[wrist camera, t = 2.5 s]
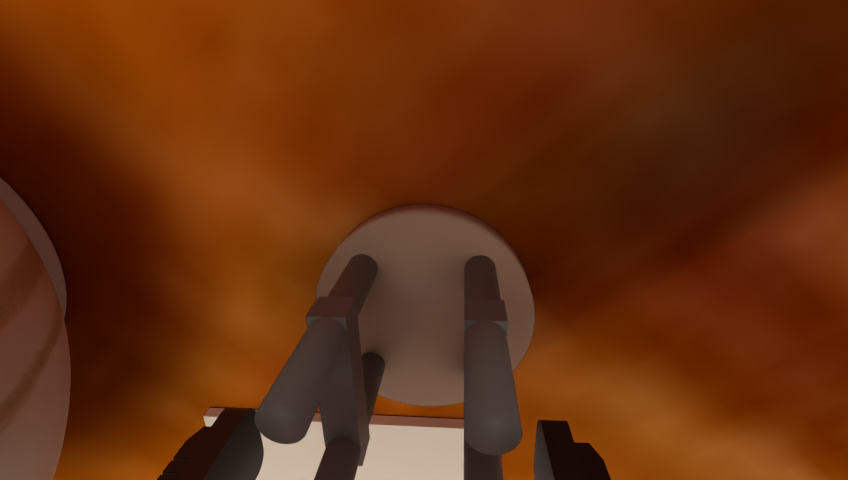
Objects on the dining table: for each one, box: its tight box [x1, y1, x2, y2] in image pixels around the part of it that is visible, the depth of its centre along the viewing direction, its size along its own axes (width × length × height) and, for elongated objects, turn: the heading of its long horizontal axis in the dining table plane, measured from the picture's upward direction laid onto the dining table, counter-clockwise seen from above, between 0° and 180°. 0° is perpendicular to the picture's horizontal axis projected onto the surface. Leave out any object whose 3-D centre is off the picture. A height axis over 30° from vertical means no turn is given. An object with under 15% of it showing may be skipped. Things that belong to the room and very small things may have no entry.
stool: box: [254, 204, 535, 480], centre depth 14 cm, size 9×9×10 cm
